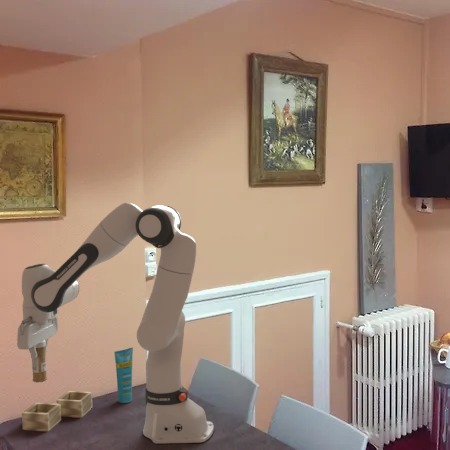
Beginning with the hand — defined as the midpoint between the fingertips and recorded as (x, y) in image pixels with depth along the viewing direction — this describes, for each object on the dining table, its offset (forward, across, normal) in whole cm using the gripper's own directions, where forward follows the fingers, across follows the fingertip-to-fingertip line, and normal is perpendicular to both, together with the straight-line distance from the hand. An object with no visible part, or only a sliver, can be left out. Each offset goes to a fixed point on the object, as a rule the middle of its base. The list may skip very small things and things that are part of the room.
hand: (39, 355), depth 193 cm
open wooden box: (+23, +12, -6) cm, 27 cm away
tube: (+24, +24, -20) cm, 39 cm away
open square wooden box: (+23, 0, 0) cm, 23 cm away
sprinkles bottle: (+9, 0, 0) cm, 9 cm away
